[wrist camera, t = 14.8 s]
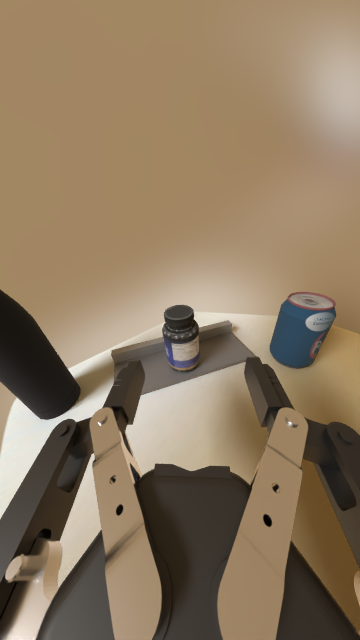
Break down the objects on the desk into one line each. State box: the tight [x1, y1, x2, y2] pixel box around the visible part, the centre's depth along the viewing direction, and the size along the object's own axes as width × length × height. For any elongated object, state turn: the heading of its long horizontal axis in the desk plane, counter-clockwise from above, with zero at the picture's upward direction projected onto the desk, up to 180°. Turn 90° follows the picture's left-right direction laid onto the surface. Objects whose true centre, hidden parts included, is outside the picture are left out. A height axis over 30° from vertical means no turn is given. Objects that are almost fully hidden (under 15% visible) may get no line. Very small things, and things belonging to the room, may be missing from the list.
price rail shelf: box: [111, 321, 255, 395], centre depth 32 cm, size 26×10×3 cm, turn 107°
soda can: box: [270, 292, 336, 369], centre depth 27 cm, size 7×7×12 cm
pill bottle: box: [162, 305, 200, 372], centre depth 28 cm, size 6×6×11 cm
